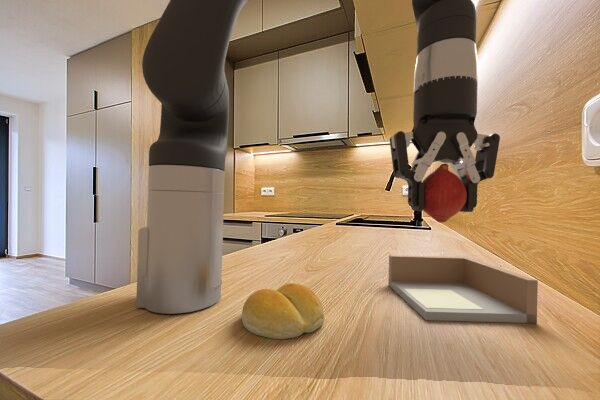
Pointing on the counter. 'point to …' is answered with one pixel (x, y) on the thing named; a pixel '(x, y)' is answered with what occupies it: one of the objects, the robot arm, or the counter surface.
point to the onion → (443, 194)
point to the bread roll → (283, 312)
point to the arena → (463, 289)
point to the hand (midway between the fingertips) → (441, 210)
